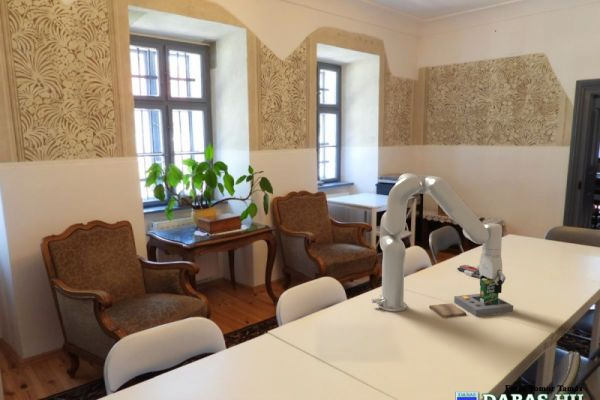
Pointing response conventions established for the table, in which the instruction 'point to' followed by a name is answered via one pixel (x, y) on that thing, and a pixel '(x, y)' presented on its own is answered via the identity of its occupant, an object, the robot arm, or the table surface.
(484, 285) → the coffee box
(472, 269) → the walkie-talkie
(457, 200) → the robot arm
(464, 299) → the toy stove front
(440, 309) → the walnut pad
